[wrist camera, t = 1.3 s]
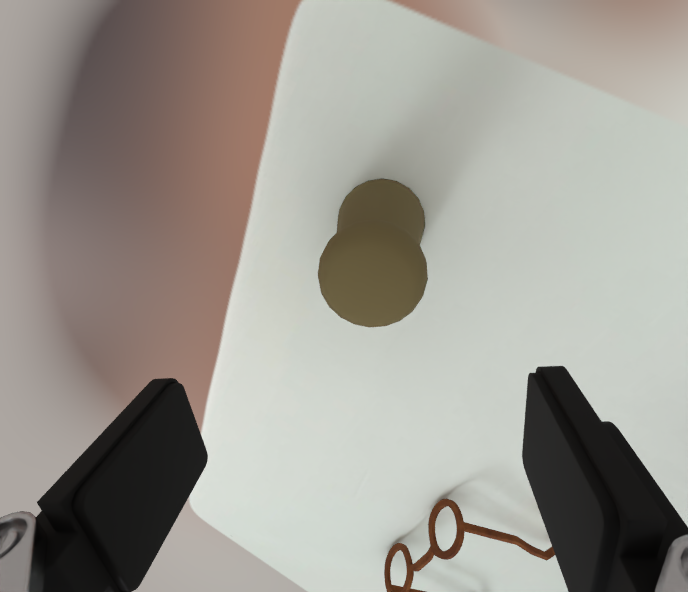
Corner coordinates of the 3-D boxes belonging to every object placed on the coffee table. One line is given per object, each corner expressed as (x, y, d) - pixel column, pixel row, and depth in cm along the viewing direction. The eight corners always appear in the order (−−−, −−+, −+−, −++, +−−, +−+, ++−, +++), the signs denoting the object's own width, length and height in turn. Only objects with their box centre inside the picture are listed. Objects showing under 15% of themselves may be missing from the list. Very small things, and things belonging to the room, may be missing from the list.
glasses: (450, 485, 37) (457, 537, 32) (564, 541, 38) (586, 598, 34) (382, 553, 43) (380, 604, 38) (482, 599, 44) (492, 654, 39)
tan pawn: (393, 159, 25) (389, 192, 15) (441, 235, 27) (466, 308, 17) (320, 212, 27) (275, 270, 17) (369, 279, 29) (353, 366, 19)
